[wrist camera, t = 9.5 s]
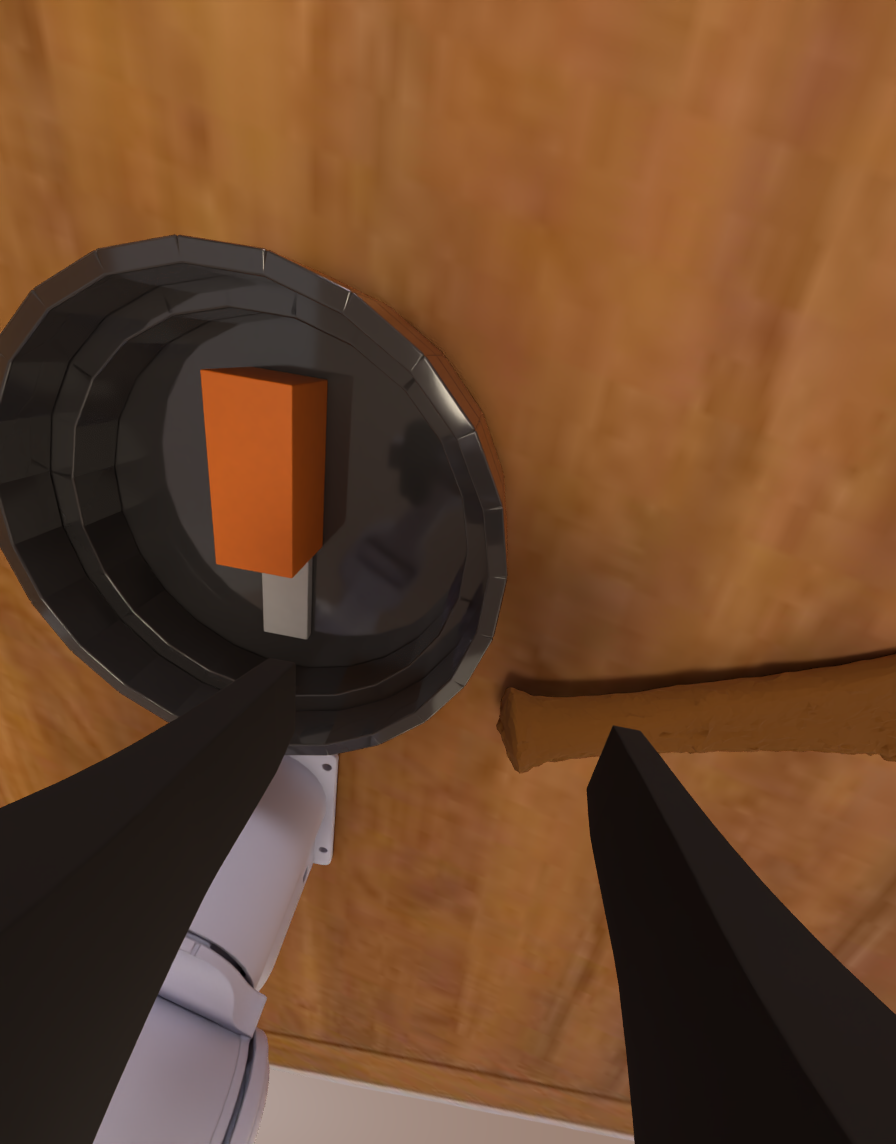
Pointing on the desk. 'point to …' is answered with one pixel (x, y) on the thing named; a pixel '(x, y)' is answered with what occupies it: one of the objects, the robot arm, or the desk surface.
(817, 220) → the desk surface
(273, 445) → the chisel
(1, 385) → the bowl
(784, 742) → the primitive tool
